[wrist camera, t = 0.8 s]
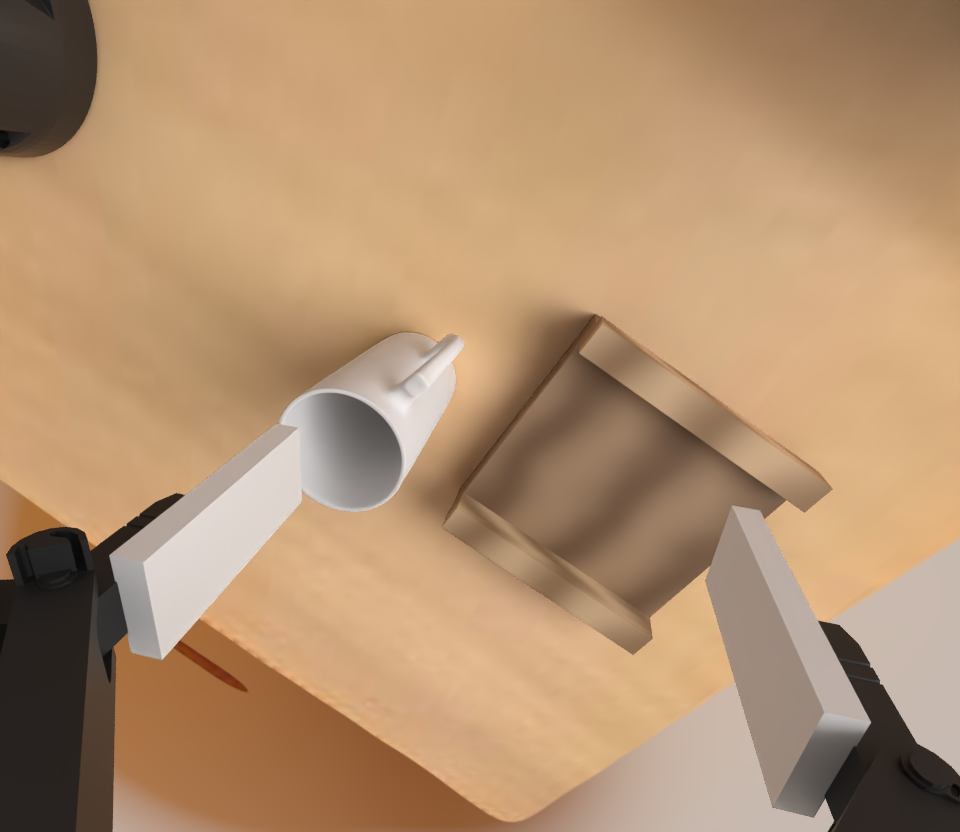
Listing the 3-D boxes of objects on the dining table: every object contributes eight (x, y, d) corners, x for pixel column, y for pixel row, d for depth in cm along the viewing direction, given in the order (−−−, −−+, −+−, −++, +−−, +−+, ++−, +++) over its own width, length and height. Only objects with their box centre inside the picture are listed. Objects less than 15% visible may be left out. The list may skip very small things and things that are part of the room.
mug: (411, 437, 39) (343, 533, 28) (347, 368, 38) (250, 440, 27) (517, 354, 35) (484, 429, 25) (449, 273, 34) (383, 315, 23)
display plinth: (456, 493, 40) (441, 527, 36) (600, 307, 33) (602, 324, 29) (628, 608, 42) (633, 654, 37) (804, 453, 34) (832, 489, 30)
